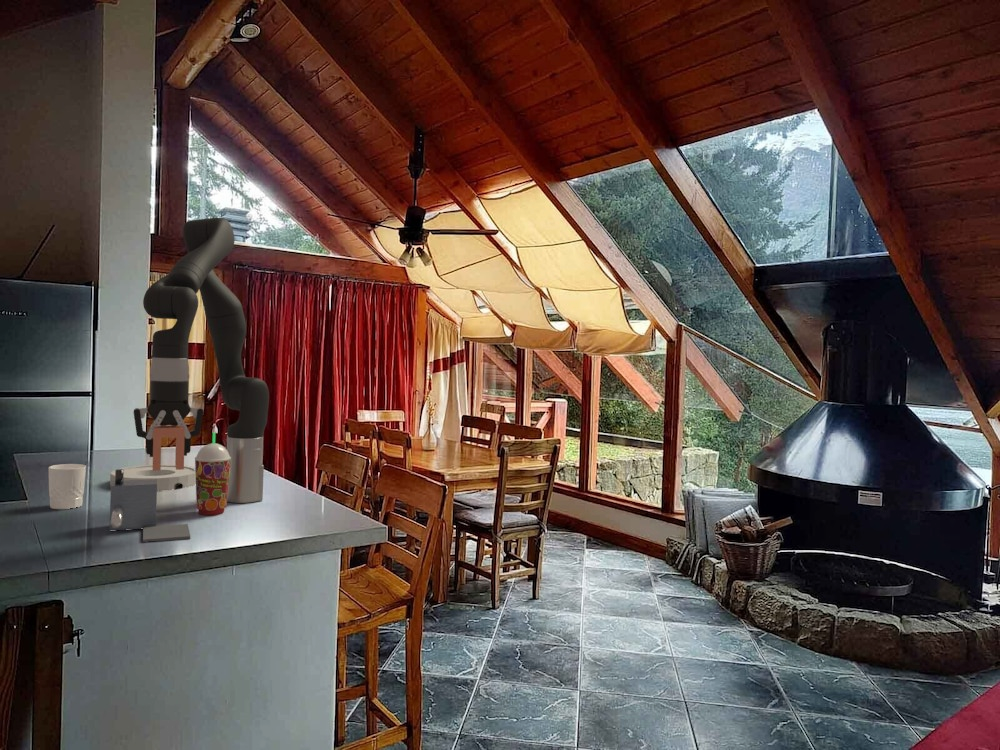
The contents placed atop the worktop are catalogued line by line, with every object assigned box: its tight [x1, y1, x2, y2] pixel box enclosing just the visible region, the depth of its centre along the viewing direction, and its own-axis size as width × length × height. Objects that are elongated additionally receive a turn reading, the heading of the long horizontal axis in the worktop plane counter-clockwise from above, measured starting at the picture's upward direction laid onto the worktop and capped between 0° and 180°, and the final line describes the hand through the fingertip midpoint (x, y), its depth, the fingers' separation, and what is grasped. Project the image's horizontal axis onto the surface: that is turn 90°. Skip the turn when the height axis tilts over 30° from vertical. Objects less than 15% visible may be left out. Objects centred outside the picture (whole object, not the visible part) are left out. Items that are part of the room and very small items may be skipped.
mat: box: [142, 523, 191, 543], centre depth 149 cm, size 9×11×1 cm
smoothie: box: [194, 432, 231, 516], centre depth 170 cm, size 8×8×20 cm
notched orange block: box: [152, 425, 185, 471], centre depth 149 cm, size 6×6×9 cm
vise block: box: [109, 468, 158, 531], centre depth 149 cm, size 18×9×13 cm, turn 27°
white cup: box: [48, 463, 87, 510], centre depth 170 cm, size 8×8×10 cm
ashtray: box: [109, 464, 196, 492], centre depth 202 cm, size 23×23×4 cm
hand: (168, 455), depth 149 cm, fingers closed on notched orange block, 6 cm apart
